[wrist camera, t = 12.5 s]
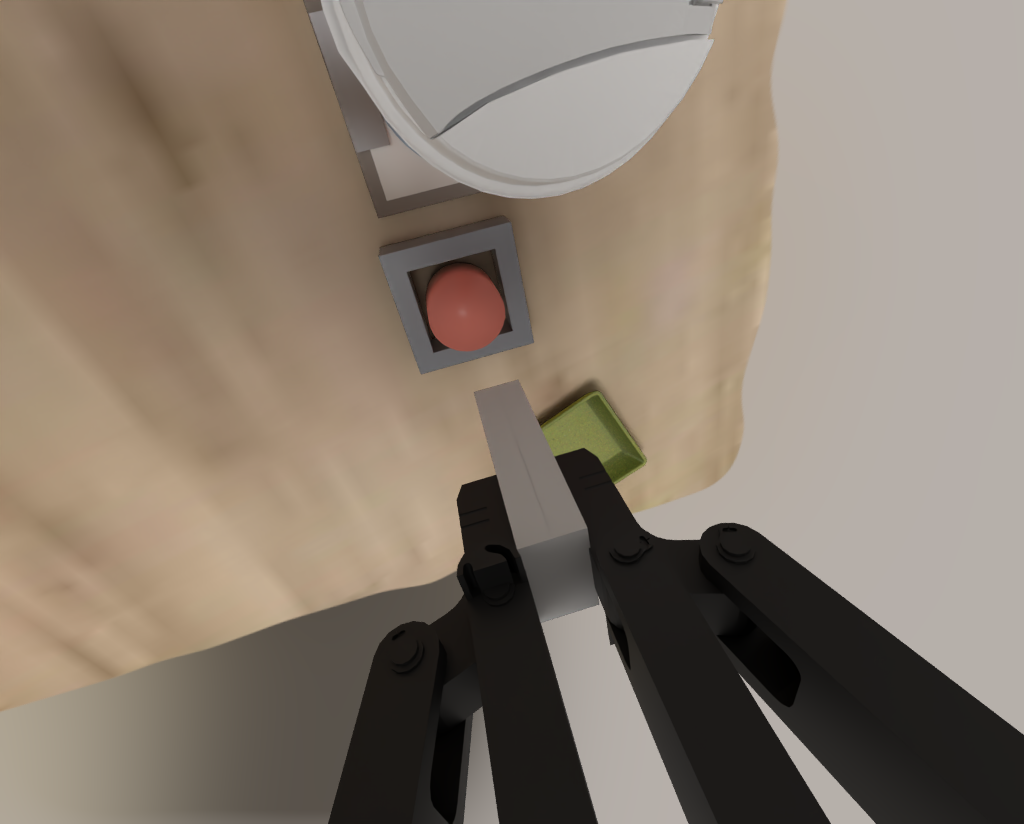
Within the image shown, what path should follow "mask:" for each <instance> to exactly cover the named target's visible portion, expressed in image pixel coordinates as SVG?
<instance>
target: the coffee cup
mask: <svg viewBox="0 0 1024 824" xmlns="http://www.w3.org/2000/svg"><path fill="white" fill-rule="evenodd" d="M720 3H723V0H321V4H322V8H323V12H324V14H325V17H326V20H327V23H328V25H329V28H330V31H331V33H332V36H333V39H334V41H335V44H336V47H337V50H338V52H339V54H340V55H341V56H342V58H343V59H344V61H345V62H346V63H347V65H348V66H349V68H350V69H351V70H352V72H353V73H354V75H355V76H356V77H357V79H358V80H359V82H360V83H361V84H362V86H363V87H364V88H365V90H366V91H367V93H368V94H369V96H370V97H371V99H372V100H373V102H374V103H375V105H376V106H377V108H378V109H379V111H380V112H381V114H382V115H383V117H384V118H385V120H386V121H387V122H388V123H389V124H390V125H391V127H392V128H393V129H394V130H395V131H396V132H397V133H398V134H399V136H400V137H401V138H402V139H403V140H404V141H405V142H406V143H407V145H408V146H409V147H411V148H412V149H413V150H414V151H415V152H417V153H418V154H419V155H420V156H421V157H422V158H424V159H425V160H426V161H427V162H428V163H429V164H431V165H432V166H433V167H435V168H436V169H438V170H440V171H441V172H443V173H444V174H446V175H448V176H449V177H451V178H453V179H454V180H456V181H458V182H460V183H462V184H465V185H467V186H470V187H472V188H474V189H477V190H479V191H482V192H485V193H489V194H494V195H498V196H503V197H508V198H525V199H537V198H545V197H552V196H559V195H563V194H566V193H569V192H572V191H575V190H578V189H581V188H584V187H586V186H588V185H590V184H592V183H594V182H596V181H598V180H600V179H602V178H604V177H606V176H608V175H609V174H610V173H612V172H613V171H615V170H616V169H617V168H619V167H620V166H621V165H623V164H624V163H626V162H627V161H628V160H630V159H631V158H632V157H633V156H634V155H635V154H636V153H637V152H638V151H639V150H640V149H641V148H642V147H643V146H644V145H645V144H646V143H647V142H648V141H649V140H650V139H651V138H652V137H653V136H654V134H655V133H656V132H657V131H658V129H659V128H660V127H661V125H662V124H663V123H664V122H665V121H666V119H667V118H668V117H669V116H670V114H671V113H672V112H673V110H674V109H675V108H676V107H677V105H678V104H679V103H680V102H681V100H682V99H683V98H684V96H685V94H686V93H687V91H688V89H689V88H690V86H691V85H692V83H693V81H694V80H695V78H696V76H697V75H698V73H699V71H700V70H701V68H702V66H703V63H704V61H705V59H706V57H707V55H708V53H709V51H710V48H711V46H712V44H713V42H714V39H708V36H709V34H711V31H712V25H713V21H714V18H715V15H716V12H717V10H718V6H719V4H720Z"/></svg>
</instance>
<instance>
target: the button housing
mask: <svg viewBox="0 0 1024 824" xmlns="http://www.w3.org/2000/svg"><path fill="white" fill-rule="evenodd" d="M488 250H491V252H492V257H493V261H494V266H495V270H496V275H497V279H498V284H499V288H500V293H501V298H502V300H503V303H504V306H505V316H506V319H505V320H504V324H503V327H502V329H501V331H500V333H499V334H498V336H497V337H496V338H495V339H494V340H493V341H492V342H491V343H490V344H488V345H487V346H485V347H483V348H481V349H478V350H474V351H457V350H454V349H451V348H449V347H447V346H445V345H444V344H442V343H441V342H440V341H439V340H438V339H437V338H436V339H431V336H430V333H429V330H428V327H427V324H426V321H425V318H424V315H423V312H422V309H421V306H420V303H419V300H418V297H417V294H416V291H415V288H414V285H413V282H412V279H411V276H410V273H409V271H413V270H416V269H420V268H424V267H428V266H431V265H435V264H439V263H443V262H447V261H450V260H454V259H458V258H462V257H466V256H469V255H473V254H477V253H481V252H484V251H488ZM378 257H379V259H380V262H381V265H382V268H383V271H384V273H385V276H386V279H387V282H388V284H389V287H390V290H391V293H392V295H393V298H394V301H395V304H396V307H397V309H398V312H399V315H400V318H401V320H402V323H403V326H404V329H405V331H406V334H407V337H408V340H409V343H410V345H411V348H412V351H413V354H414V356H415V359H416V362H417V365H418V367H419V370H420V373H421V374H424V373H428V372H431V371H435V370H438V369H442V368H445V367H449V366H453V365H456V364H460V363H463V362H467V361H471V360H474V359H478V358H481V357H485V356H488V355H492V354H496V353H499V352H503V351H506V350H510V349H514V348H517V347H521V346H524V345H528V344H531V343H534V340H533V335H532V330H531V325H530V319H529V314H528V309H527V304H526V298H525V293H524V288H523V282H522V277H521V272H520V267H519V261H518V256H517V251H516V246H515V240H514V235H513V230H512V225H511V221H509V220H508V219H507V218H506V217H505V216H500V217H496V218H492V219H488V220H484V221H480V222H477V223H473V224H469V225H465V226H461V227H457V228H453V229H450V230H446V231H442V232H438V233H434V234H430V235H427V236H423V237H419V238H415V239H411V240H407V241H403V242H400V243H396V244H392V245H388V246H384V247H380V250H379V256H378Z"/></svg>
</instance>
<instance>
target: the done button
mask: <svg viewBox="0 0 1024 824" xmlns="http://www.w3.org/2000/svg"><path fill="white" fill-rule="evenodd" d="M426 307H427V314H428V320H429V325H430V328H431V330H432V332H433V334H434V335H435V337H436V338H437V339H438V340H439V341H440V342H441V343H442V344H444V345H445V346H447V347H449V348H451V349H454V350H457V351H474V350H478V349H481V348H483V347H485V346H487V345H488V344H490V343H491V342H492V341H493V340H494V339H495V338H496V337H497V336H498V334H499V333H500V331H501V329H502V327H503V324H504V320H505V306H504V303H503V300H502V298H501V296H500V294H499V292H498V291H497V289H496V287H495V286H494V284H493V282H492V281H491V279H490V277H489V276H488V275H487V274H486V273H485V272H484V271H483V270H482V269H480V268H479V267H477V266H474V265H472V264H468V263H454V264H450V265H447V266H445V267H443V268H442V269H440V270H439V271H438V272H437V273H435V275H434V276H433V277H432V278H431V280H430V282H429V284H428V286H427V290H426Z"/></svg>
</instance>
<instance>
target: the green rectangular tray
mask: <svg viewBox="0 0 1024 824" xmlns="http://www.w3.org/2000/svg"><path fill="white" fill-rule="evenodd" d="M540 427H541V429H542V431H543V434H544V436H545V438H546V440H547V442H548V444H549V446H550V449H551V451H552V453H553V455H554V456H558V455H561V454H564V453H568V452H571V451H574V450H578V449H581V448H585V449H587V450H588V451H590V452H591V453H593V454H594V455H596V456H597V457H598V458H599V460H600V461H601V463H602V465H603V466H604V468H605V470H606V472H607V473H608V475H609V477H610V478H611V480H612V483H614V485H615V484H616V483H618V482H619V481H621V480H622V479H624V478H626V477H627V476H629V475H630V474H632V473H633V472H635V471H637V470H638V469H640V468H641V467H643V466H644V465H645V464H646V462H647V459H646V457H645V455H644V454H643V453H642V451H641V450H640V449H639V447H638V445H637V444H636V443H635V441H634V440H633V438H632V437H631V436H630V434H629V433H628V431H627V430H626V428H625V427H624V425H623V424H622V422H621V421H620V420H619V418H618V417H617V415H616V414H615V412H614V411H613V409H612V408H611V406H610V405H609V403H608V402H607V401H606V399H605V398H604V396H603V395H602V393H601V392H599V391H594V392H590V393H588V394H586V395H584V396H583V397H581V398H580V399H578V400H577V401H575V402H574V403H572V404H571V405H570V406H568V407H567V408H565V409H564V410H562V411H561V412H560V413H558V414H557V415H555V416H554V417H552V418H551V419H549V420H548V421H547V422H545V423H544V424H542V425H541V426H540Z"/></svg>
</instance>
